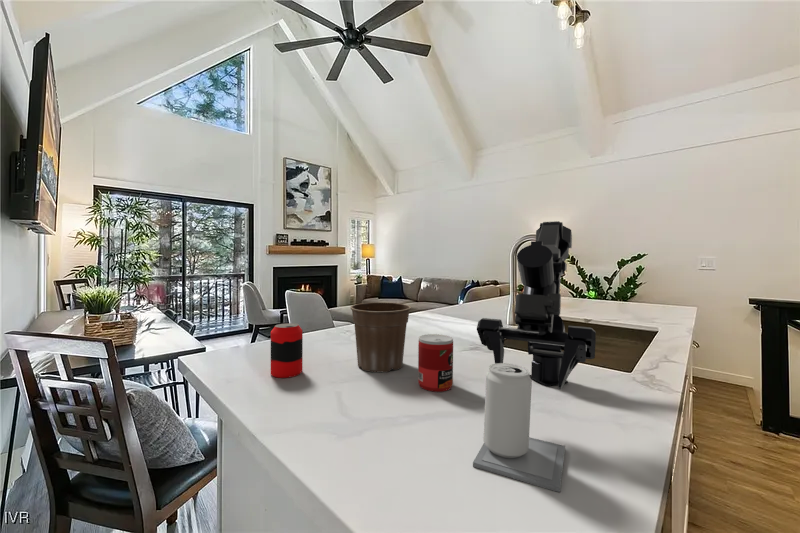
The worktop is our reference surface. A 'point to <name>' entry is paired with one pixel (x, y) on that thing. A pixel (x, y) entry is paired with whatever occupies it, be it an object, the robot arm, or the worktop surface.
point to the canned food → (435, 362)
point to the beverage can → (507, 410)
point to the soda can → (286, 350)
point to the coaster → (527, 464)
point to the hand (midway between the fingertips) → (527, 382)
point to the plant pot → (380, 335)
